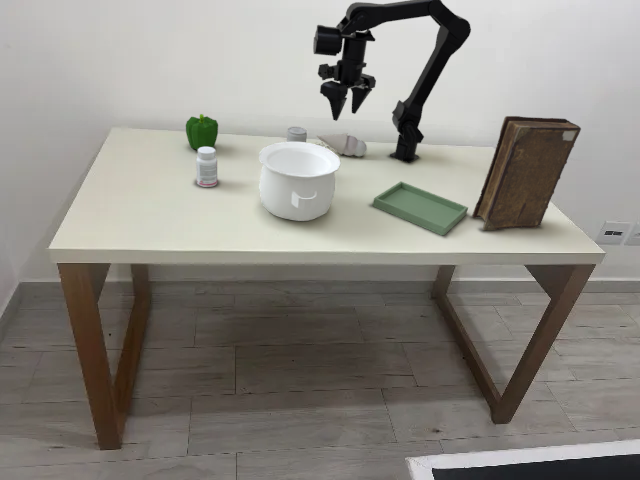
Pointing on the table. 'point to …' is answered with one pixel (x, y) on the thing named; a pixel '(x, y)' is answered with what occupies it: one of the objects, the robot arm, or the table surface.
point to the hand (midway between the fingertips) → (344, 116)
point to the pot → (297, 179)
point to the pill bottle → (206, 167)
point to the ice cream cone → (345, 144)
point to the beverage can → (296, 134)
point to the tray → (421, 207)
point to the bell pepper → (201, 132)
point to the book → (525, 171)
